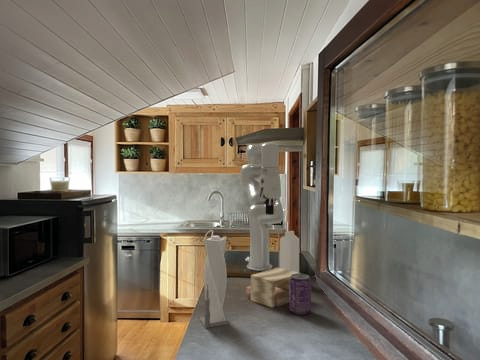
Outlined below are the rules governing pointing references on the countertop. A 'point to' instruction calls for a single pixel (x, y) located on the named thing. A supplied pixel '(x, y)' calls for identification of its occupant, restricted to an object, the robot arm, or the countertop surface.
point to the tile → (248, 289)
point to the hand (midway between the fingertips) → (269, 214)
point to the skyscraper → (214, 281)
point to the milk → (289, 252)
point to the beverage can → (300, 294)
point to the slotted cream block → (271, 287)
